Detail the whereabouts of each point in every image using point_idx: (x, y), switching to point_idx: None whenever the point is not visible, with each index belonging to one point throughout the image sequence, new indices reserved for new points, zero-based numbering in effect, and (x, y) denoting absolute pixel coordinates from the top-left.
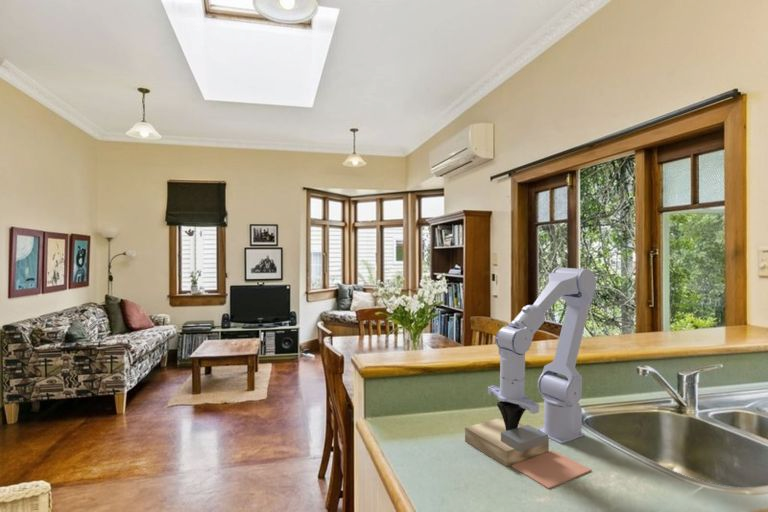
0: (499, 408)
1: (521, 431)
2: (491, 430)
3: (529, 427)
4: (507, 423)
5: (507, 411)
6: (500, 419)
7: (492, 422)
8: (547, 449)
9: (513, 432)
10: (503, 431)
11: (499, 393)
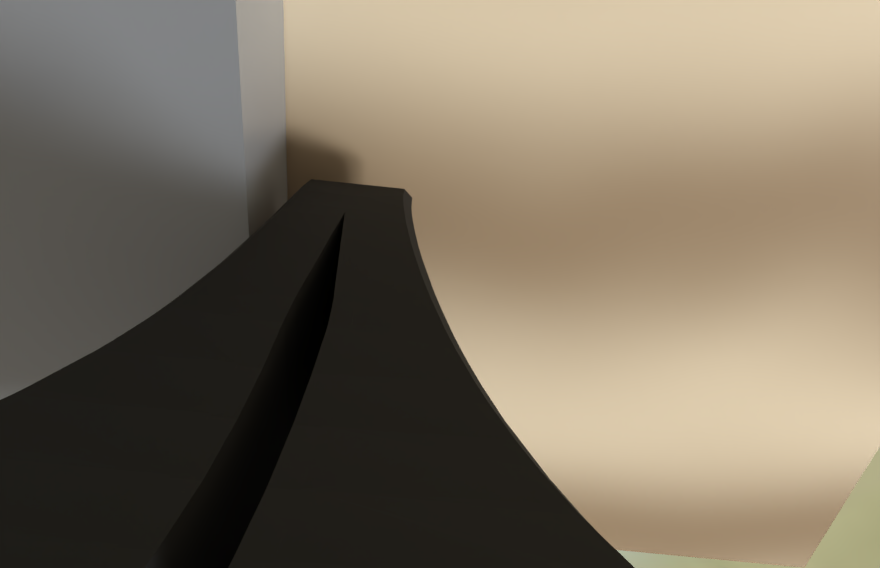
0: (535, 512)
1: (97, 300)
2: (715, 89)
3: None
4: (306, 268)
5: (60, 489)
6: (810, 475)
7: (867, 337)
8: None
9: (111, 150)
10: (531, 221)
11: None
